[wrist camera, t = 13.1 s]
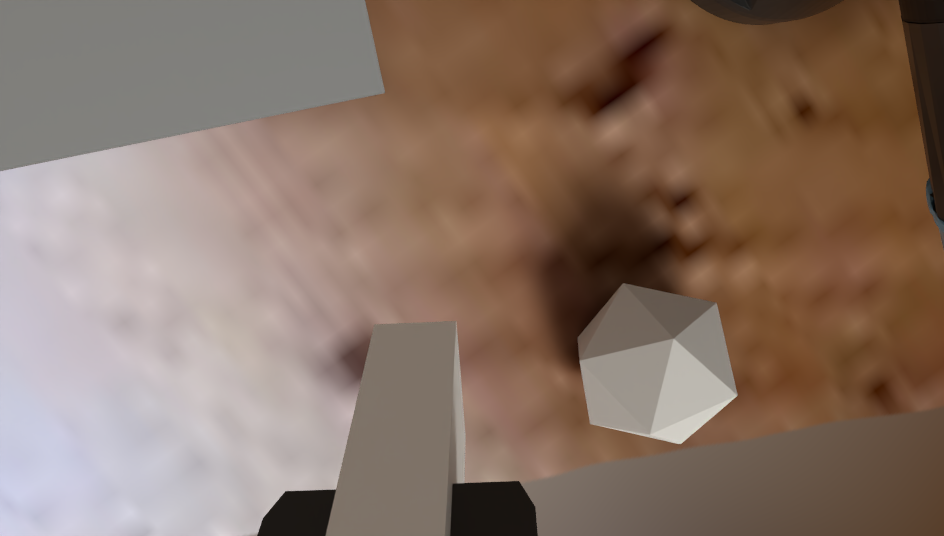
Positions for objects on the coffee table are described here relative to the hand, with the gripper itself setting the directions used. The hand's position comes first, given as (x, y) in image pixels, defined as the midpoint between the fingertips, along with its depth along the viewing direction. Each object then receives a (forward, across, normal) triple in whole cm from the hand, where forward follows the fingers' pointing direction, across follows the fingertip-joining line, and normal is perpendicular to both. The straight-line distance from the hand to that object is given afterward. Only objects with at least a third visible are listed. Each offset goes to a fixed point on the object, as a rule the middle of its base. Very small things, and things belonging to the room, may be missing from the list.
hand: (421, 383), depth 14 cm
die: (+26, +9, -17) cm, 33 cm away
